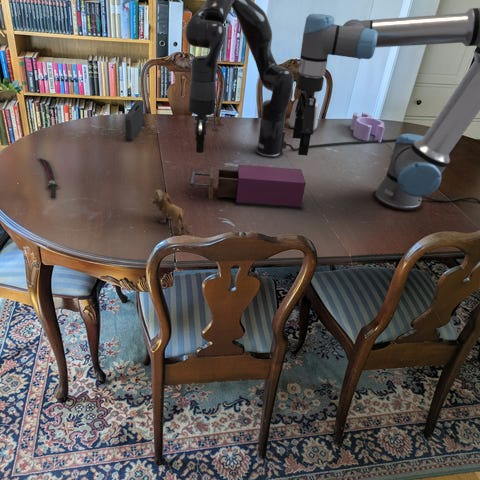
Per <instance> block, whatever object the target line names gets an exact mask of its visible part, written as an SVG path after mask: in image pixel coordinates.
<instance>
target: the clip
mask: <svg viewBox="0 0 480 480" xmlns="http://www.w3.org/2000/svg"><path fill="white" fill-rule="evenodd" d="M358 114H359V113H358V112H353V114H352V118H351V122H350V126H349V129H350V130H351V131H353V132H352V136H353V137H354V138H356V139H358V140H360V141H370V135H372V136H374V139H373V140H379V142H378V143H382V142H381V140H383V137H384V132H385V129H386V127H385V122H384V121H383V120H380V119H377V118H374V117H372V115H371V114H369V113H366V112H361V115H358Z"/></svg>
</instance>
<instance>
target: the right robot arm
mask: <svg viewBox="0 0 480 480" xmlns="http://www.w3.org/2000/svg"><path fill="white" fill-rule="evenodd" d="M443 44H444V45H445V44H446V45H447V44H462V45H464V46H465V47H476V48H475V49H474V50H473V57H474V61H473V63H472V64H471V66H469V69H468V70H467V71H466V73H465V74H464V76H463V77H462V79H461V81H459V83H458V85H457V87H456V88H455V89H454V91H453V92H452V94H451V96H449V98H448V100H447V101H446V102H445V105H444V106H443V107H442V109H441V111H440V112H439V113H438V115H437V116H436V118H435V119H434V121H433V122H432V124H431V125H430V127H429V128H428V130H427V131H426V132H425V134H424V135H420V134H415V133H414V134H413V133H401V134H399V135H398V136H397V138H396V139H397V141H394V148H393V151H392V153H391V157H390V161H389V164H388V169H387V172H386V175H385V177H384V179H383V180H382V181H381V182H380V184H379V186H378V187H377V188H376V190H375V194H374V197H375V200H376V201H377V202H378V203H380V204H381V205H383V206H385V207H386V208H387V207H388V208H389V209H392V210H395V211H401V212H402V211H403V212H412V211H416V210H418V209H419V208H421V205H422V199H426V200H431V201H433V202H434V201H435V202H440V203H442V202H443V203H445V202H446V203H449V202H455V201H458V200H462V201H463V200H474V201H477V202H478V203H479V204H480V198H478V197H473V196H462V197H459V196H458V197H455V198H451V199H443V198H442V199H441V198H435V197H430V196H429V195H431V194H433V193H434V192H436V191H437V190H438V188H439V187H440V185H441V183H442V173H443V172H444V171H445V170H446V168H447V166H448V165H449V164H450V162H451V159H450V153H451V151H453V149H454V147H455V146H456V145H457V144H458V142H459V141H460V139H461V138H462V136H463V135H464V133H466V131H467V129H468V128H469V126H470V125H471V124H472V123H473V121H474V120H475V118H476V117H477V116H478V114H479V112H480V7H472V8H469V9H468V10H467V11H466V12H461V13H460V12H459V13H448V14H445V13H444V14H435V15H433V14H432V15H421V16H420V15H418V16H417V15H416V16H405V17H391V18H377V19H363V20H359V19H350V20H347V21H346V22H345V23H344V24H343V25H338V24H335V17H334V16H333V15H329V14H325V13H310V14H308V15H307V17H306V18H305V23H304V28H303V33H302V42H301V49H300V58H299V60H300V61H299V60H298V61H297V63H296V64H297V66H298V70H297V71H298V74H297V76H296V83H295V87H296V88H297V89H298V90H299V93H300V94H298V98H297V99H298V102H297V106H296V110H295V113H296V117H297V118H295V124H294V128H293V132H292V139H296V140H297V139H299V144H298V148H299V150H297V151H298V152H297V155H298V156H308V153H309V145H310V142H311V137H312V136H313V135H314V131H313V126H314V113H315V104H316V100H317V98H316V99H315V97H314V93H315V92H317V93H319V92H321V91H322V90H323V86H324V80H325V78H324V76H326V71H327V64H328V57H329V56H338V57H345V58H346V57H347V58H353V59H358V60H370V59H372V58H373V56H374V54H375V51H376V48H391V47H392V48H393V47H409V46H428V45H429V46H430V45H443ZM302 117H303V118H302ZM307 129H309V130H307Z"/></svg>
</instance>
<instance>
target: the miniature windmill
mask: <svg viewBox="0 0 480 480" xmlns="http://www.w3.org/2000/svg"><path fill="white" fill-rule="evenodd" d="M218 65H219V63H217V68H216V75H217V73H218V68H219V67H218ZM219 80H220V78H218V77H216V82H219ZM218 103H219V102H218V94H217V93H216V97H215V111H214V113H213V114H210V115H209V116H212V117H213V120H212V119H208V122H213V126H214V127H213V128H214V130H215V131H216V130H217V121H218V125H221V119H220V117H221V115H220V109H219V104H218ZM216 112H217V115H216Z"/></svg>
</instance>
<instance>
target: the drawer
mask: <svg viewBox="0 0 480 480" xmlns="http://www.w3.org/2000/svg"><path fill="white" fill-rule="evenodd" d="M196 176H203V177H209V183H196V182H195V181H196ZM214 177H215V166H214V165H210V169H209V173H205V172H196V171H195V170H193V171H191V174H190V179H189V180H190V181H189V187H190V188H193V187H205V188H206V187H207V188H208V199H209V200H213V197H214V195H213V194H214V180H215V178H214ZM237 189H238V169H226V168H225V169H224V168H219V169H218V179H217V197H218V198H232V199H236V198H237Z"/></svg>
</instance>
